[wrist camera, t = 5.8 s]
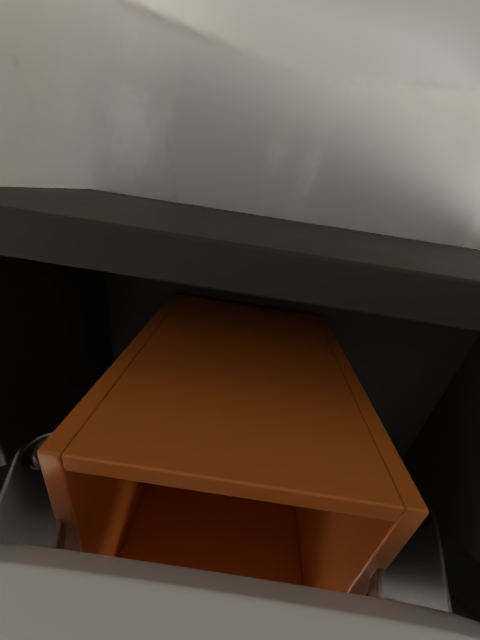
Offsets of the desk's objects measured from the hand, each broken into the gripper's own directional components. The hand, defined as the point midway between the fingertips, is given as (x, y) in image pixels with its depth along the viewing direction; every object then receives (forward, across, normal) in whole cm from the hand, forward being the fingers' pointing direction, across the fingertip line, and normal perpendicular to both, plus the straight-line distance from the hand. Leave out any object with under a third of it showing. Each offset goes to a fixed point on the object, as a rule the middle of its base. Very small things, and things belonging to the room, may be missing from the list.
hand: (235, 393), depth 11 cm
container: (+2, 0, 0) cm, 2 cm away
